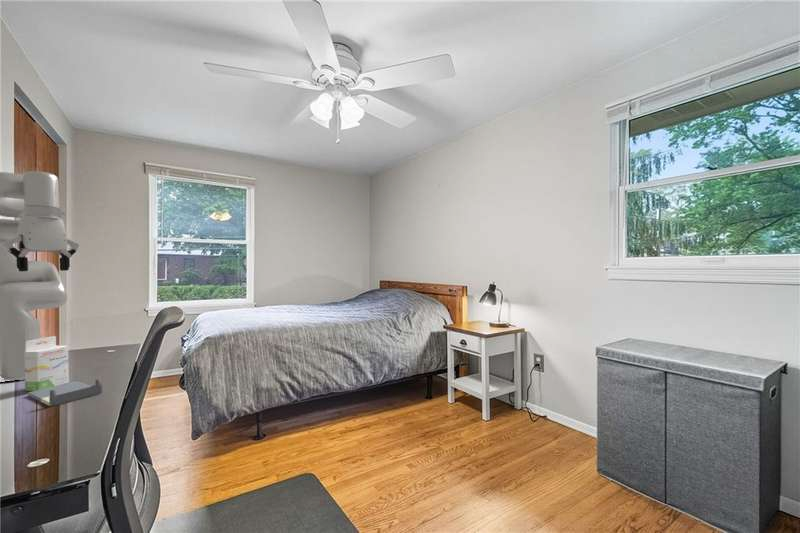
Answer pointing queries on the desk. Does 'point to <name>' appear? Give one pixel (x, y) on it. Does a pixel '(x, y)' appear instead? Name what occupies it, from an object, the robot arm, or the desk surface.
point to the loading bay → (66, 392)
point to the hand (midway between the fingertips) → (44, 270)
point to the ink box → (45, 364)
